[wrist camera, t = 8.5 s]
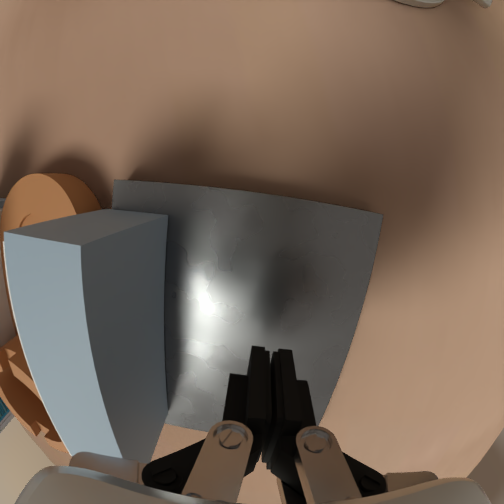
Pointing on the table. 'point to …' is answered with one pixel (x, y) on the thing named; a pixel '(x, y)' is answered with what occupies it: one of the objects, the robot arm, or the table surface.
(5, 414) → the beverage bottle
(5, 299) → the block
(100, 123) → the table surface
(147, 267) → the block
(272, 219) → the plate
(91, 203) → the bracket
